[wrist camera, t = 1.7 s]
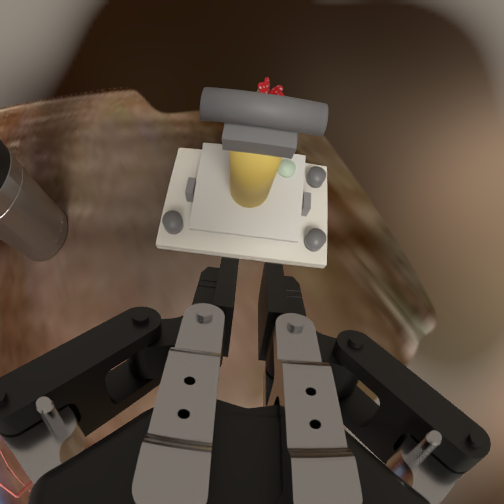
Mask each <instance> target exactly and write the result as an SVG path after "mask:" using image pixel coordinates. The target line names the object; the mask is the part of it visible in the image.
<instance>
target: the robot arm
mask: <svg viewBox="0 0 504 504" xmlns="http://www.w3.org/2000/svg"><path fill="white" fill-rule="evenodd" d="M67 231H68V223H67V218H66V216H65V214H64V213H63V211H62V210H61V209H60V208H59V207H58V206H57V205H56V204H55V203H54V202H53V201H52V199H51V198H50V197H49V196H48V195H47V194H46V193H45V192H44V191H43V189H42V188H41V187H40V186H39V185H38V184H37V183H36V182H35V180H34V179H33V178H32V177H31V176H30V175H29V174H28V172H27V171H26V170H25V169H24V168H23V167H22V165H21V164H20V163H19V162H18V161H17V160H16V158H15V157H14V156H13V155H12V153H11V152H10V151H9V150H8V148H7V147H6V146H5V145H4V144H3V142H2V141H1V140H0V239H1V240H2V241H4V242H5V243H7V244H8V245H10V246H11V247H13V248H14V249H16V250H17V251H19V252H20V253H22V254H23V255H25V256H27V257H28V258H30V259H32V260H34V261H44V260H47V259H49V258H51V257H53V256H54V255H55V254H56V253H57V252H58V251H59V250H60V248H61V247H62V245H63V243H64V241H65V239H66V236H67ZM238 262H239V259H234V258H226V257H222V259H221V264H220V268H214V267H207V268H206V269H205V270H204V271H203V272H201V276H200V279H199V283H198V286H197V289H196V293H195V296H194V300H193V303H192V305H191V306H190V307H188V308H187V309H186V310H185V312H184V315H183V316H181V317H178V318H172V319H161V316H160V314H159V313H158V312H157V311H155V310H154V309H151V308H148V307H135V308H131V309H129V310H127V311H125V312H123V313H121V314H119V315H117V316H115V317H113V318H111V319H110V320H108V321H106V322H104V323H102V324H100V325H98V326H96V327H94V328H93V329H91V330H89V331H87V332H85V333H83V334H81V335H79V336H77V337H76V338H74V339H72V340H70V341H68V342H66V343H64V344H62V345H60V346H59V347H57V348H55V349H53V350H51V351H49V352H47V353H45V354H44V355H42V356H40V357H38V358H36V359H34V360H32V361H30V362H29V363H27V364H25V365H23V366H21V367H19V368H17V369H16V370H14V371H12V372H10V373H8V374H6V375H4V376H2V377H1V378H0V437H1V438H2V439H3V441H4V442H5V443H6V444H7V445H8V447H9V448H10V449H11V450H12V452H13V453H14V455H15V456H16V458H17V460H18V461H19V463H20V464H21V466H22V468H23V469H24V471H25V472H26V474H27V475H28V476H29V478H30V479H31V481H32V482H33V484H34V486H33V488H32V490H31V493H30V496H29V503H28V504H440V502H441V501H442V500H443V499H444V498H445V496H446V495H447V494H448V492H449V491H450V490H451V489H452V487H453V486H454V485H455V483H456V482H457V481H458V479H460V478H461V477H462V476H463V475H464V474H466V473H467V472H468V471H469V470H470V469H471V468H473V467H474V466H475V465H476V464H477V463H478V462H479V461H480V460H482V459H483V458H484V457H485V456H486V455H487V454H488V452H489V450H490V445H491V443H490V438H489V436H488V434H487V433H486V431H485V430H484V429H483V428H482V427H480V426H479V425H478V424H477V423H475V422H474V421H473V420H472V419H470V418H469V417H468V416H467V415H466V414H464V413H463V412H462V411H461V410H459V409H458V408H457V407H455V406H454V405H453V404H452V403H451V402H449V401H448V400H447V399H446V398H444V397H443V396H442V395H441V394H439V393H438V392H437V391H436V390H434V389H433V388H432V387H431V386H429V385H428V384H427V383H426V382H424V381H423V380H422V379H421V378H419V377H418V376H417V375H416V374H414V373H413V372H412V371H411V370H409V369H408V368H407V367H406V366H404V365H403V364H402V363H401V362H399V361H398V360H397V359H396V358H394V357H393V356H392V355H391V354H389V353H388V352H387V351H386V350H384V349H383V348H382V347H381V346H379V345H378V344H377V343H376V342H374V341H373V340H372V339H371V338H369V337H368V336H367V335H365V334H363V333H361V332H358V331H354V330H346V331H343V332H341V333H340V334H339V335H338V336H337V339H336V338H333V337H329V336H326V335H323V334H321V333H319V332H317V331H316V330H315V326H314V324H313V322H312V321H311V320H310V319H308V318H307V317H306V313H305V308H304V304H303V299H302V294H301V290H300V285H299V283H298V282H297V281H296V280H295V279H294V277H290V276H284V272H283V266H282V264H276V263H267V262H265V264H264V269H263V275H262V281H261V287H260V293H259V301H258V360H263V361H266V366H265V371H264V375H263V407H257V408H243V407H240V406H236V405H233V404H230V403H227V402H224V401H220V400H217V390H218V380H219V369H220V367H221V365H222V358H223V356H225V357H228V352H229V344H230V335H231V327H232V319H233V311H234V301H235V291H236V282H237V272H238ZM126 359H127V361H125V360H126ZM123 361H125V362H124V363H122V362H123ZM120 363H122V364H121V365H119V366H117V365H118V364H120ZM115 366H117V367H116V368H114V367H115ZM112 368H114V369H113V370H111V369H112ZM110 370H111V371H110ZM359 380H360V381H361V382H362V383H363V384H365V385H366V386H367V387H368V388H369V389H370V390H371V391H372V392H374V393H375V394H376V395H377V396H378V398H379V400H380V406H379V405H377V404H376V403H375V402H374V401H373V400H372V399H371V398H370V397H368V396H367V395H366V394H365V393H364V392H363V391H362V390H361V389H360V388H359V387H357V386H356V385H357V383H358V381H359ZM159 384H160V386H159V390H158V394H157V398H156V402H155V405H154V408H151V409H149V410H147V411H145V412H143V413H142V414H140V415H139V416H137V417H136V418H134V419H133V420H131V421H130V422H128V423H127V424H125V425H123V426H122V427H120V428H119V429H117V430H116V431H114V432H113V433H111V434H109V435H108V436H106V437H105V438H103V439H102V440H100V441H98V442H97V443H95V444H93V445H92V446H90V447H89V448H87V449H85V450H84V451H82V450H83V448H84V446H85V437H86V436H87V435H89V434H90V433H92V432H93V431H94V430H96V429H97V428H99V427H100V426H102V425H103V424H105V423H106V422H108V421H109V420H110V419H112V418H113V417H115V416H116V415H118V414H119V413H120V412H122V411H123V410H125V409H126V408H128V407H129V406H130V405H132V404H133V403H135V402H136V401H137V400H139V399H140V398H141V397H143V396H144V395H146V394H147V393H148V392H150V391H151V390H153V389H154V388H155V387H157V386H158V385H159ZM343 424H344V425H345V426H346V427H347V428H348V429H349V430H350V431H351V432H352V433H353V434H354V435H355V436H356V437H357V438H358V439H359V440H360V441H361V442H362V443H363V444H364V445H365V446H367V447H368V448H369V449H370V450H371V451H372V452H373V453H374V454H375V455H376V456H377V457H378V458H379V459H380V460H381V461H382V462H383V463H385V464H386V465H385V464H383V463H382V462H381V461H380V460H379V459H377V458H376V457H375V456H374V455H373V454H372V453H371V452H369V451H368V450H367V449H366V448H365V447H363V445H361V444H360V443H359V442H358V441H357V440H356V439H355V438H354V437H352V436H351V435H350V434H349V433H348V432H347V431H346V430H345V429H344V426H343ZM81 451H82V452H81Z"/></svg>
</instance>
